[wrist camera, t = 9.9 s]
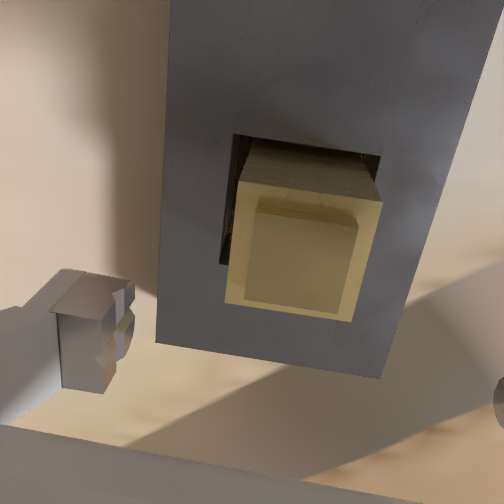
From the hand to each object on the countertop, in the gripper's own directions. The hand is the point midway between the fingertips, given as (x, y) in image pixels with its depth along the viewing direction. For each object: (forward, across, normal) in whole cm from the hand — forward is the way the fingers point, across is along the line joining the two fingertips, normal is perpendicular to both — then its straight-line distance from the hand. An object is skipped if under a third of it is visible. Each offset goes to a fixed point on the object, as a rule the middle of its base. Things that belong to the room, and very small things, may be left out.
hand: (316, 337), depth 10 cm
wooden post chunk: (+11, +1, 0) cm, 11 cm away
